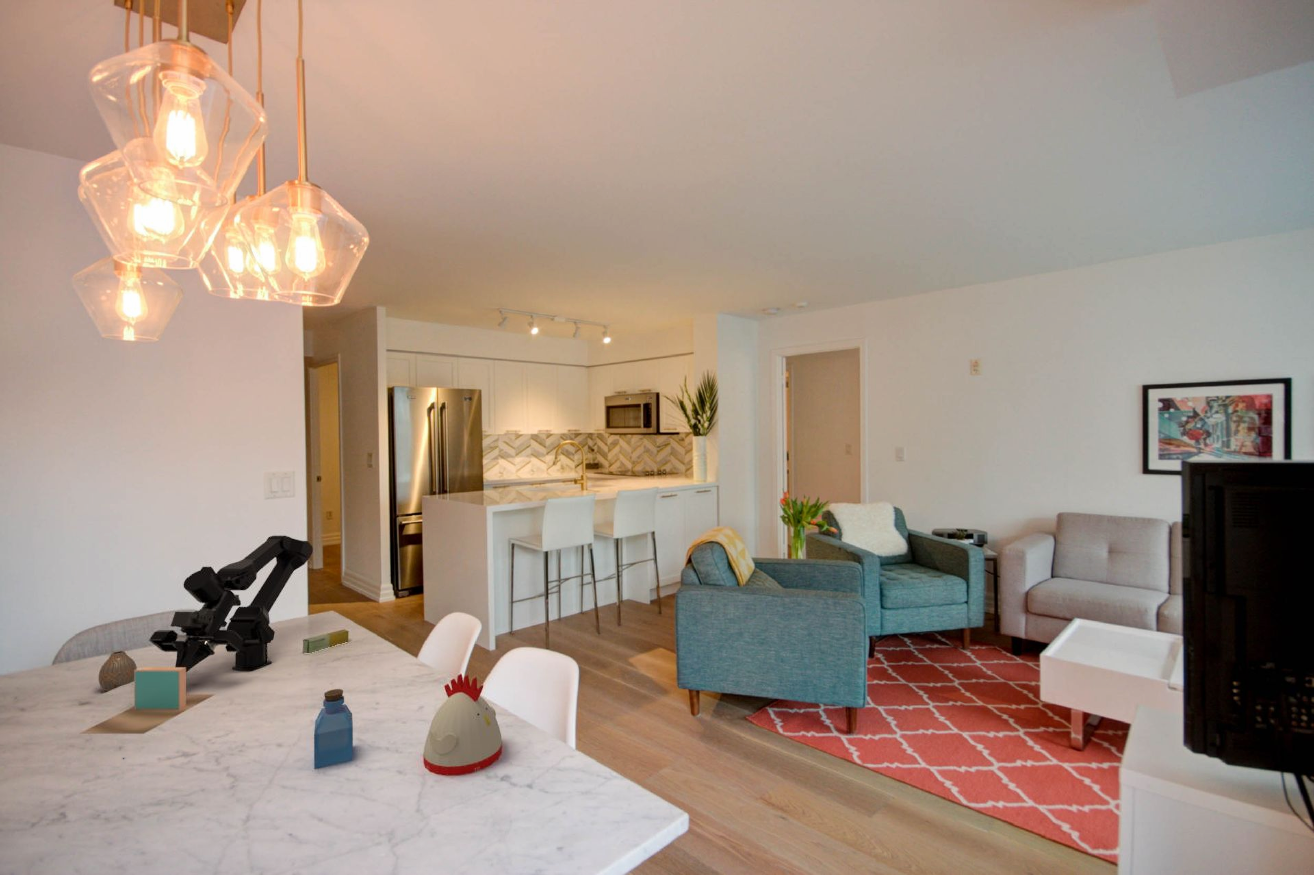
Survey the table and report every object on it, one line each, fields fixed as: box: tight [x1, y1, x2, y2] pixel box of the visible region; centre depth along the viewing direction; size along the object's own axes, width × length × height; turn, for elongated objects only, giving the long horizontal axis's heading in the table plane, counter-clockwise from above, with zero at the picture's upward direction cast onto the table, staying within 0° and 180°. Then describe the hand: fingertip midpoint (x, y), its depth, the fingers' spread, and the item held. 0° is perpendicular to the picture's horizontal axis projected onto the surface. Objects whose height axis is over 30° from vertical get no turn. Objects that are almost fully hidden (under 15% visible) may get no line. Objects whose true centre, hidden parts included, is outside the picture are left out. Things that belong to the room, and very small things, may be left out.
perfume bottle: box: [313, 688, 354, 770], centre depth 113 cm, size 6×6×12 cm
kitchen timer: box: [422, 673, 503, 777], centre depth 114 cm, size 14×14×15 cm
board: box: [80, 693, 216, 735], centre depth 130 cm, size 19×13×2 cm
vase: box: [98, 650, 138, 693], centre depth 146 cm, size 7×7×9 cm
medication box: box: [302, 629, 350, 654], centre depth 175 cm, size 12×3×4 cm, turn 146°
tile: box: [133, 666, 187, 710], centre depth 132 cm, size 2×10×8 cm, turn 89°
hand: (176, 676), depth 136 cm, fingers closed
